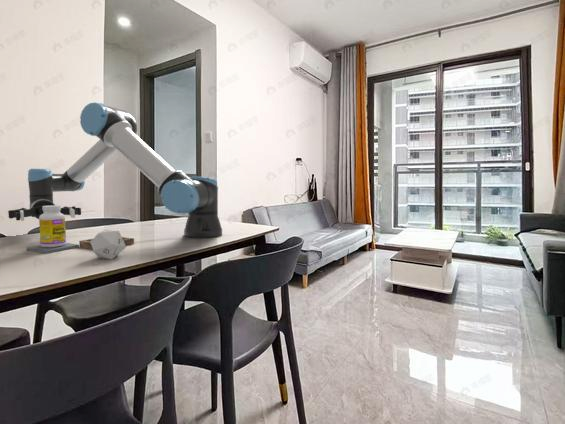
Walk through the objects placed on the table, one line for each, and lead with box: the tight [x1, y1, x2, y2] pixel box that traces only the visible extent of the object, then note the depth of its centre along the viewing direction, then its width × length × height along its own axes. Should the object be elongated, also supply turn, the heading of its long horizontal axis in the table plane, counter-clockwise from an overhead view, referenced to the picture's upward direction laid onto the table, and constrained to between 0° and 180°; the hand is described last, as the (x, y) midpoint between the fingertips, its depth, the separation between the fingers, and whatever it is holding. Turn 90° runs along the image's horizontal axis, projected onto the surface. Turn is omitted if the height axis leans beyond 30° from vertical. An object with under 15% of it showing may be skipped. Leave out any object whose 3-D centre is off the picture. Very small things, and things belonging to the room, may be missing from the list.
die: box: [90, 229, 127, 260], centre depth 89 cm, size 8×9×10 cm
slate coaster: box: [26, 242, 80, 254], centre depth 99 cm, size 10×10×1 cm
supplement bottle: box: [38, 204, 67, 248], centre depth 99 cm, size 7×7×13 cm
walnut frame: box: [78, 236, 135, 250], centre depth 105 cm, size 12×12×2 cm
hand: (49, 215), depth 103 cm, fingers open, 13 cm apart
